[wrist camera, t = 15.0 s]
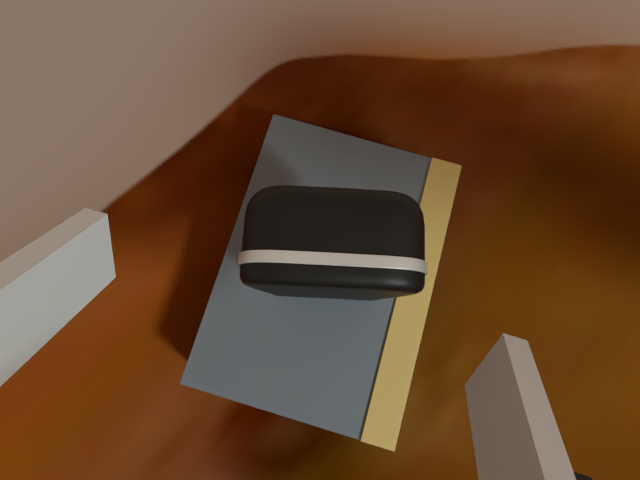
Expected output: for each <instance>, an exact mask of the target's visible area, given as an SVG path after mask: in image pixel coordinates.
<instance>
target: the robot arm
mask: <svg viewBox="0 0 640 480" xmlns="http://www.w3.org/2000/svg"><path fill="white" fill-rule="evenodd" d="M115 277H116V275H115V268H114V260H113V252H112V245H111V237H110V229H109V222H108V214H106V213H102V212H99V211H96V210H92V209H89V208H84V209H82V210H81V211H79V212H78V213H76V214H75V215H73V216H71V217H70V218H68V219H67V220H65V221H64V222H63V223H61V224H59V225H58V226H56V227H54V228H53V229H51V230H50V231H48V232H47V233H45V234H44V235H42V236H40V237H39V238H37V239H36V240H34V241H33V242H31V243H30V244H28V245H27V246H25V247H23V248H22V249H20V250H19V251H17V252H16V253H14V254H12V255H11V256H9V257H8V258H6V259H5V260H3V261H2V262H0V386H1V385H2V384H4V383H5V382H6V381H7V380H8V379H9V378H10V377H11V376H12V375H13V374H14V373H15V372H16V371H17V370H18V369H19V368H20V367H21V366H22V365H24V364H25V363H26V362H27V361H28V360H29V359H30V358H31V357H32V356H33V355H34V354H35V353H36V352H37V351H38V350H39V349H40V348H41V347H43V346H44V345H45V344H46V343H47V342H48V341H49V340H50V339H51V338H52V337H53V336H54V335H55V334H56V333H57V332H58V331H59V330H60V329H62V328H63V327H64V326H65V325H66V324H67V323H68V322H69V321H70V320H71V319H72V318H73V317H74V316H75V315H76V314H77V313H78V312H79V311H80V310H82V309H83V308H84V307H85V306H86V305H87V304H88V303H89V302H90V301H91V300H92V299H93V298H94V297H95V296H96V295H97V294H98V293H99V292H101V291H102V290H103V289H104V288H105V287H106V286H107V285H108V284H109V283H110V282H111V281H112V280H113V279H114V278H115ZM465 390H466V397H467V403H468V410H469V417H470V424H471V431H472V437H473V444H474V451H475V458H476V464H477V471H478V478H479V480H592V478H591V477H588V476H585V475H582V474H579V473H576V472H573V469H572V467H571V464H570V461H569V458H568V455H567V452H566V449H565V447H564V444H563V441H562V438H561V435H560V432H559V429H558V427H557V424H556V421H555V418H554V415H553V412H552V409H551V407H550V404H549V401H548V398H547V395H546V392H545V390H544V387H543V384H542V381H541V378H540V375H539V372H538V370H537V367H536V364H535V361H534V358H533V355H532V352H531V350H530V347H529V344H528V341H527V340H524V339H521V338H517V337H514V336H511V335H507V334H504V333H503V334H502V335H501V337H500V338H499V339H498V341H497V342H496V343H495V345H494V346H493V347H492V349H491V350H490V352H489V353H488V354H487V356H486V357H485V358H484V360H483V361H482V362H481V364H480V365H479V366H478V368H477V369H476V370H475V372H474V373H473V374H472V376H471V377H470V378H469V380H468V381H467V382H466V384H465Z"/></svg>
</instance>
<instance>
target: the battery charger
mask: <svg viewBox="0 0 640 480" xmlns="http://www.w3.org/2000/svg"><path fill="white" fill-rule="evenodd" d="M238 266H239V267H240V279H241V281H242V283H243V284H245V285H246V286H249V287H251V288H254V289H257V290H260V291H263V292H267V293H270V294H272V295H275V296H288V297H307V298H327V299H346V300H367V301H375V300H380V299H387V298H395V297H402V296H408V295H413V294H417V293H419V292H421V291H422V290H423V288H424V285H425V276H426V275H427V274H428V268H427V262H426V261H425V224H424V216H423V212H422V210H421V208H420V206H419V205H418V203H417V202H416V201H415V200H414V199H413V198H412V197H411V196H408V195H406V194H403V193H399V192H395V191H386V190H370V189H353V188H335V187H314V186H292V185H276V186H271V187H266V188H263V189H261V190H260V191H258V192H257V193H256V194H254V195H253V196H252V198H251V199H250V201H249V203H248V204H247V208H246V213H245V218H244V229H243V240H242V251H241V252H240V253H239V256H238Z"/></svg>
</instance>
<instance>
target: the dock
mask: <svg viewBox="0 0 640 480" xmlns="http://www.w3.org/2000/svg"><path fill="white" fill-rule="evenodd" d="M461 167H462V166H461V165H458V164H454V163H451V162H447V161H443V160H440V159H436V158H433V157H432V158H429V157H425V156H422V155H418V154H414V153H411V152H407V151H404V150H400V149H397V148H393V147H389V146H386V145H382V144H379V143H375V142H372V141H368V140H364V139H361V138H357V137H354V136H350V135H347V134H343V133H339V132H336V131H332V130H329V129H325V128H322V127H318V126H314V125H311V124H307V123H304V122H300V121H297V120H293V119H289V118H286V117H282V116H279V115H275V114H273V117H272V120H271V123H270V125H269V128H268V131H267V134H266V137H265V140H264V143H263V146H262V148H261V151H260V154H259V157H258V160H257V163H256V166H255V169H254V172H253V174H252V177H251V180H250V183H249V186H248V189H247V192H246V195H245V197H244V200H243V203H242V206H241V209H240V212H239V215H238V218H237V221H236V223H235V226H234V229H233V232H232V235H231V238H230V241H229V244H228V246H227V249H226V252H225V255H224V258H223V261H222V264H221V267H220V270H219V272H218V275H217V278H216V281H215V284H214V287H213V290H212V293H211V295H210V298H209V301H208V304H207V307H206V310H205V313H204V316H203V319H202V321H201V324H200V327H199V330H198V333H197V336H196V339H195V342H194V344H193V347H192V350H191V353H190V356H189V359H188V362H187V365H186V368H185V370H184V373H183V376H182V379H181V382H180V384H182V385H185V386H188V387H192V388H195V389H198V390H201V391H204V392H208V393H211V394H214V395H217V396H220V397H224V398H227V399H230V400H233V401H236V402H240V403H243V404H246V405H249V406H252V407H256V408H259V409H262V410H265V411H268V412H272V413H275V414H278V415H281V416H284V417H288V418H291V419H294V420H297V421H300V422H304V423H307V424H310V425H313V426H316V427H320V428H323V429H326V430H329V431H332V432H336V433H339V434H342V435H345V436H348V437H352V438H355V439H358V440H360V441H362V442H365V443H368V444H372V445H375V446H378V447H381V448H384V449H388V450H391V451H394V452H395V448H396V443H397V439H398V435H399V431H400V426H401V422H402V418H403V414H404V409H405V405H406V401H407V397H408V392H409V388H410V384H411V379H412V375H413V371H414V367H415V362H416V358H417V354H418V350H419V345H420V341H421V337H422V333H423V328H424V324H425V320H426V316H427V311H428V307H429V303H430V299H431V294H432V290H433V286H434V282H435V277H436V273H437V269H438V265H439V260H440V256H441V252H442V248H443V243H444V239H445V235H446V231H447V226H448V222H449V218H450V214H451V209H452V205H453V201H454V197H455V192H456V188H457V184H458V180H459V175H460V171H461ZM276 185H292V186H314V187H335V188H353V189H370V190H386V191H395V192H399V193H403V194H406V195H408V196H411V197H412V198H413V199H414V200H415V201H416V202H417V203H418V205H419V206H420V208H421V210H422V212H423V216H424V224H425V261H426V262H427V268H428V274H427V275H426V276H425V285H424V288H423V290H422V291H421V292H419V293H417V294H413V295H408V296H402V297H395V298H387V299H380V300H375V301H367V300H346V299H327V298H307V297H288V296H275V295H272V294H270V293H267V292H263V291H260V290H257V289H254V288H251V287H249V286H246V285H245V284H243V283H242V281H241V279H240V267H239V266H238V256H239V253H240V252H241V251H242V240H243V229H244V218H245V213H246V208H247V204H248V203H249V201H250V199H251V198H252V196H253V195H254V194H256V193H257V192H258V191H260V190H261V189H263V188H266V187H271V186H276Z"/></svg>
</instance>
